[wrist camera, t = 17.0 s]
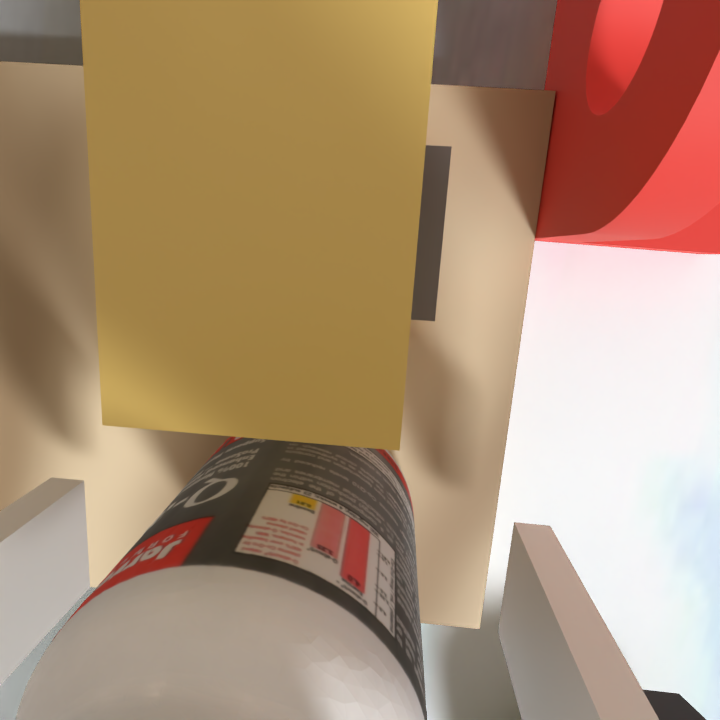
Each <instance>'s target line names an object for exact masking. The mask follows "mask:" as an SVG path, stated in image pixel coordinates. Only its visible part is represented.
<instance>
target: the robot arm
mask: <svg viewBox="0 0 720 720" xmlns="http://www.w3.org/2000/svg"><path fill="white" fill-rule="evenodd" d="M89 587H90V576H89V558H88V540H87V523H86V505H85V487H84V480H74V479H64V478H53V477H51V478H50V479H48V480H47V481H45V482H44V483H42V484H41V485H39V486H38V487H36V488H35V489H33V490H32V491H30V492H29V493H27V494H26V495H24V496H23V497H21V498H20V499H18V500H17V501H15V502H14V503H12V504H10V505H9V506H7V507H6V508H4V509H3V510H1V511H0V686H1V685H2V683H3V682H4V681H5V680H6V679H7V678H8V677H9V676H10V675H11V674H12V672H13V671H14V670H15V669H16V668H17V667H18V666H19V665H20V664H21V663H22V661H23V660H24V659H25V658H26V657H27V656H28V655H29V654H30V653H31V651H32V650H33V649H34V648H35V647H36V646H37V645H38V644H39V643H40V642H41V640H42V639H43V638H44V637H45V636H46V635H47V634H48V633H49V632H50V631H51V629H52V628H53V627H54V626H55V625H56V624H57V623H58V622H59V621H60V619H61V618H62V617H63V616H64V615H65V614H66V613H67V612H68V611H69V610H70V608H71V607H72V606H73V605H74V604H75V603H76V602H77V601H78V600H79V599H80V597H81V596H82V595H83V594H84V593H85V592H86V591H87V590H88V589H89ZM498 633H499V637H500V641H501V644H502V648H503V652H504V656H505V659H506V663H507V667H508V670H509V674H510V678H511V681H512V685H513V689H514V693H515V696H516V700H517V704H518V707H519V711H520V715H521V718H522V720H706V719H705V718H704V717H703V716H702V715H701V714H700V713H699V712H697V711H696V710H695V709H694V708H693V707H692V706H691V705H690V704H689V703H688V702H687V701H686V700H685V699H684V698H683V697H682V696H681V695H679V694H676V693H667V692H658V691H649V690H642V688H641V686H640V685H639V683H638V681H637V679H636V678H635V676H634V674H633V672H632V670H631V669H630V667H629V665H628V663H627V662H626V660H625V658H624V656H623V654H622V653H621V651H620V649H619V647H618V646H617V644H616V642H615V640H614V638H613V637H612V635H611V633H610V631H609V630H608V628H607V626H606V624H605V622H604V621H603V619H602V617H601V615H600V614H599V612H598V610H597V608H596V606H595V605H594V603H593V601H592V599H591V598H590V596H589V594H588V592H587V590H586V589H585V587H584V585H583V583H582V582H581V580H580V578H579V576H578V574H577V573H576V571H575V569H574V567H573V566H572V564H571V562H570V560H569V559H568V557H567V555H566V553H565V551H564V550H563V548H562V546H561V544H560V543H559V541H558V539H557V537H556V535H555V534H554V532H553V530H552V528H551V527H550V526H546V525H536V524H525V523H515V522H514V528H513V534H512V541H511V548H510V554H509V561H508V567H507V574H506V581H505V587H504V594H503V601H502V607H501V614H500V621H499V627H498Z"/></svg>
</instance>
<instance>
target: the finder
mask: <svg viewBox="0 0 720 720" xmlns="http://www.w3.org/2000/svg"><path fill="white" fill-rule="evenodd" d="M437 8H438V0H80V14H81V33H82V52H83V71H84V89H85V108H86V127H87V146H88V165H89V184H90V202H91V221H92V240H93V259H94V278H95V297H96V316H97V334H98V353H99V372H100V391H101V410H102V425H104V426H116V427H128V428H139V429H151V430H163V431H174V432H186V433H198V434H210V435H221V436H233V437H245V438H256V439H268V440H280V441H292V442H303V443H315V444H327V445H338V446H350V447H362V448H374V449H385V450H397V451H400V441H401V429H402V418H403V406H404V394H405V383H406V371H407V359H408V347H409V336H410V324H411V320H423V321H435V315H436V305H437V294H438V284H439V273H440V263H441V253H442V242H443V232H444V221H445V211H446V201H447V190H448V180H449V169H450V159H451V149H452V146H433V145H426V136H427V125H428V113H429V101H430V90H431V78H432V66H433V54H434V43H435V31H436V19H437Z"/></svg>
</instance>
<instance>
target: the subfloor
mask: <svg viewBox="0 0 720 720" xmlns="http://www.w3.org/2000/svg"><path fill="white" fill-rule="evenodd" d="M555 93H556V91H551V90H532V89H513V88H494V87H476V86H457V85H438V84H431V90H430V101H429V113H428V125H427V136H426V145H433V146H452V149H451V159H450V169H449V180H448V190H447V201H446V211H445V221H444V232H443V242H442V253H441V263H440V273H439V284H438V294H437V305H436V315H435V321H423V320H411V324H410V336H409V347H408V359H407V371H406V383H405V394H404V406H403V418H402V429H401V441H400V451H397V450H388V451H389V453H390V454H391V455H392V456H393V458H394V459H395V461H396V462H397V464H398V465H399V467H400V469H401V471H402V473H403V475H404V477H405V480H406V482H407V485H408V488H409V491H410V495H411V500H412V506H413V513H414V524H415V542H416V561H417V578H418V594H419V609H420V623H427V624H436V625H445V626H455V627H464V628H473V629H480V624H481V616H482V609H483V602H484V595H485V588H486V581H487V574H488V567H489V560H490V553H491V546H492V539H493V532H494V524H495V517H496V510H497V503H498V496H499V489H500V482H501V475H502V468H503V461H504V454H505V447H506V440H507V433H508V425H509V418H510V411H511V404H512V397H513V390H514V383H515V376H516V369H517V362H518V355H519V348H520V341H521V334H522V326H523V319H524V312H525V305H526V298H527V291H528V284H529V277H530V270H531V263H532V256H533V249H534V242H535V234H536V227H537V220H538V213H539V206H540V199H541V192H542V185H543V178H544V171H545V164H546V157H547V150H548V143H549V135H550V128H551V121H552V114H553V107H554V100H555ZM229 437H231V436H221V435H210V434H198V433H186V432H174V431H163V430H151V429H139V428H128V427H116V426H104V425H102V410H101V391H100V372H99V353H98V334H97V316H96V297H95V278H94V259H93V240H92V221H91V202H90V184H89V165H88V146H87V127H86V108H85V89H84V71H83V66H79V65H60V64H42V63H23V62H4V61H0V511H1V510H3V509H4V508H6V507H7V506H9V505H10V504H12V503H14V502H15V501H17V500H18V499H20V498H21V497H23V496H24V495H26V494H27V493H29V492H30V491H32V490H33V489H35V488H36V487H38V486H39V485H41V484H42V483H44V482H45V481H47V480H48V479H50V478H51V477H53V478H64V479H74V480H84V487H85V505H86V523H87V540H88V558H89V576H90V587H96V588H97V586H98V585H99V584H100V583H101V582H102V581H103V580H104V579H105V578H106V576H107V575H108V574H109V573H110V572H111V571H112V569H113V568H114V567H115V566H116V565H117V564H118V563H119V562H120V560H121V559H122V558H123V557H124V556H125V555H126V554H127V552H128V551H129V550H130V549H131V548H132V547H133V546H134V545H135V543H136V542H137V541H138V540H139V539H140V538H141V537H142V535H143V534H144V533H145V531H146V530H147V529H148V528H149V527H150V526H151V525H152V524H153V523H154V522H155V520H156V519H157V518H158V517H159V516H160V515H161V514H162V513H163V511H164V510H165V509H166V508H167V507H168V506H169V505H170V503H171V502H172V501H173V500H174V499H175V498H176V496H177V495H178V494H179V493H180V492H181V490H182V489H183V488H184V487H185V486H186V484H187V483H188V482H189V481H190V480H191V479H192V478H193V477H194V475H195V474H196V473H197V472H198V471H199V470H200V468H201V467H202V466H203V465H204V464H205V463H206V461H207V460H208V459H209V458H210V457H211V456H212V455H213V454H214V452H215V451H216V450H217V449H218V448H219V447H220V446H221V445H222V444H223V443H224V442H225V441H226V440H227V439H228V438H229Z"/></svg>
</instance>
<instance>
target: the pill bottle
mask: <svg viewBox="0 0 720 720" xmlns="http://www.w3.org/2000/svg"><path fill="white" fill-rule="evenodd" d="M15 720H427V711H426V701H425V683H424V668H423V653H422V639H421V624H420V609H419V594H418V578H417V561H416V542H415V524H414V513H413V506H412V500H411V495H410V491H409V488H408V485H407V482H406V480H405V477H404V475H403V473H402V471H401V469H400V467H399V465H398V464H397V462H396V461H395V459H394V458H393V456H392V455H391V454H390V453H389V451H388V450H385V449H374V448H362V447H350V446H338V445H327V444H315V443H303V442H292V441H280V440H268V439H256V438H245V437H233V436H231V437H229V438H228V439H227V440H226V441H225V442H224V443H223V444H222V445H221V446H220V447H219V448H218V449H217V450H216V451H215V452H214V454H213V455H212V456H211V457H210V458H209V459H208V460H207V461H206V463H205V464H204V465H203V466H202V467H201V468H200V470H199V471H198V472H197V473H196V474H195V475H194V477H193V478H192V479H191V480H190V481H189V482H188V483H187V484H186V486H185V487H184V488H183V489H182V490H181V492H180V493H179V494H178V495H177V496H176V498H175V499H174V500H173V501H172V502H171V503H170V505H169V506H168V507H167V508H166V509H165V510H164V511H163V513H162V514H161V515H160V516H159V517H158V518H157V519H156V520H155V522H154V523H153V524H152V525H151V526H150V527H149V528H148V529H147V530H146V531H145V533H144V534H143V535H142V537H141V538H140V539H139V540H138V541H137V542H136V543H135V545H134V546H133V547H132V548H131V549H130V550H129V551H128V552H127V554H126V555H125V556H124V557H123V558H122V559H121V560H120V562H119V563H118V564H117V565H116V566H115V567H114V568H113V569H112V571H111V572H110V573H109V574H108V575H107V576H106V578H105V579H104V580H103V581H102V582H101V583H100V584H99V585H98V586H97V588H96V589H95V590H94V591H93V593H92V594H91V595H90V596H89V597H88V598H87V599H86V600H85V601H84V602H83V603H82V604H81V606H80V607H79V608H78V609H77V610H76V611H75V613H74V614H73V615H72V616H71V617H70V619H69V620H68V621H67V622H66V624H65V625H64V626H63V627H62V629H61V630H60V631H59V632H58V634H57V635H56V636H55V638H54V639H53V641H52V642H51V644H50V645H49V647H48V648H47V649H46V651H45V652H44V654H43V656H42V657H41V659H40V661H39V662H38V664H37V666H36V668H35V670H34V672H33V674H32V675H31V677H30V679H29V681H28V684H27V686H26V689H25V691H24V694H23V696H22V699H21V702H20V705H19V708H18V712H17V716H16V719H15Z"/></svg>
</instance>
